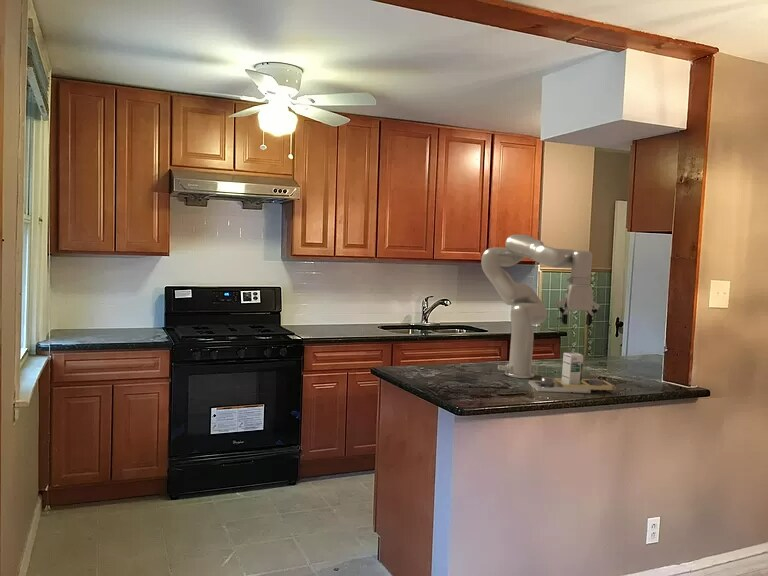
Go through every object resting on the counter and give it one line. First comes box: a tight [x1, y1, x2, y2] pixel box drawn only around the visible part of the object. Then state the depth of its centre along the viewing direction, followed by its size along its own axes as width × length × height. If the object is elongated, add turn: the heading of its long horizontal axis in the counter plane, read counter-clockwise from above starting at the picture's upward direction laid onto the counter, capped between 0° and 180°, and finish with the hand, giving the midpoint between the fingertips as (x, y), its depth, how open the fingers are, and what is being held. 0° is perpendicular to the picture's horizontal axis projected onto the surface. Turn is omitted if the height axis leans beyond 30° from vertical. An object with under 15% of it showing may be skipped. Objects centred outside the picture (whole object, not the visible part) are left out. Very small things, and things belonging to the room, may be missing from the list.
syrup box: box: [561, 352, 584, 384], centre depth 248 cm, size 6×6×14 cm
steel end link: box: [528, 376, 592, 394], centre depth 248 cm, size 21×11×4 cm, turn 94°
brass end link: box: [553, 377, 617, 395], centre depth 249 cm, size 21×11×4 cm, turn 94°
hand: (576, 324), depth 246 cm, fingers open, 9 cm apart
